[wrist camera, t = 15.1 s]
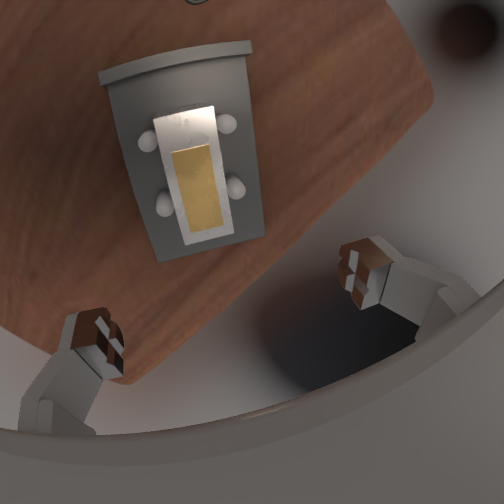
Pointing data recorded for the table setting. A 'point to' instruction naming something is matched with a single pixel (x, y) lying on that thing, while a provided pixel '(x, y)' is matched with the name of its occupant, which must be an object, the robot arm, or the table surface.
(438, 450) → the robot arm
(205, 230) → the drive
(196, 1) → the smartphone
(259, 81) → the table surface
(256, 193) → the tray
